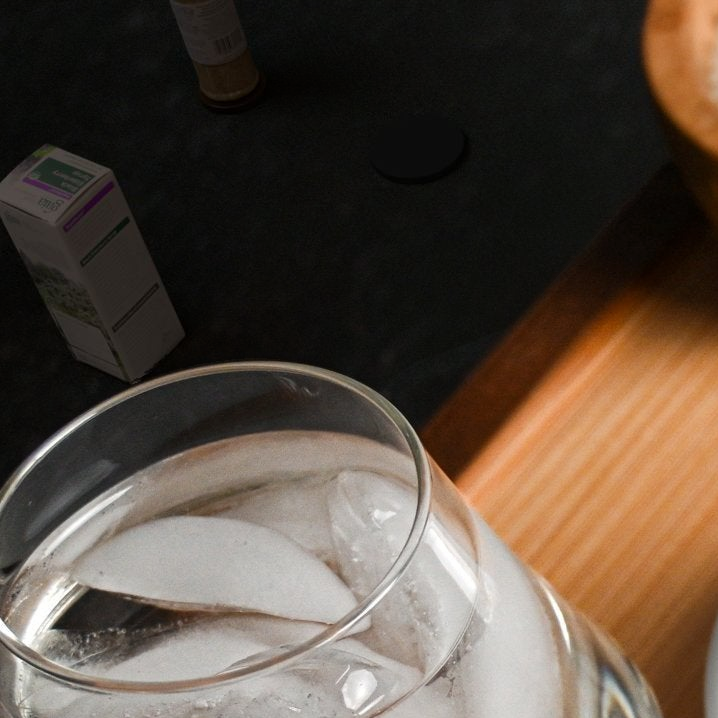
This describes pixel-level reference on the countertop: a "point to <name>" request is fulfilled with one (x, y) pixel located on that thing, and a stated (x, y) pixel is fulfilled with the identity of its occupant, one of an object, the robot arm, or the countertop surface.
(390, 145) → the side coaster
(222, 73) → the sprinkles bottle
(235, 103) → the back coaster
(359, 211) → the countertop surface
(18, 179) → the syrup box
